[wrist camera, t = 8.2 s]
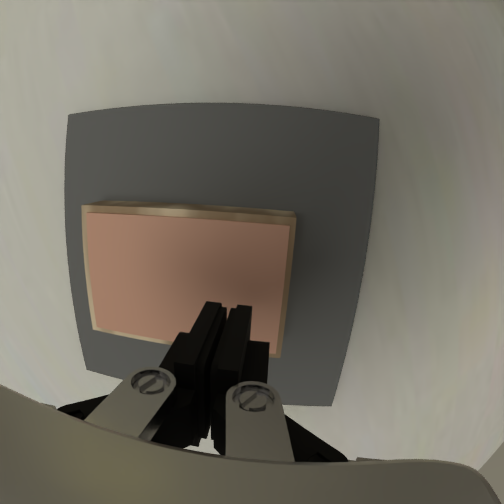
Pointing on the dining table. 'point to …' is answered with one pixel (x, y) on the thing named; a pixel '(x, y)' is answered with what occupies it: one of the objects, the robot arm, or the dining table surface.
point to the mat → (237, 195)
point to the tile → (185, 266)
